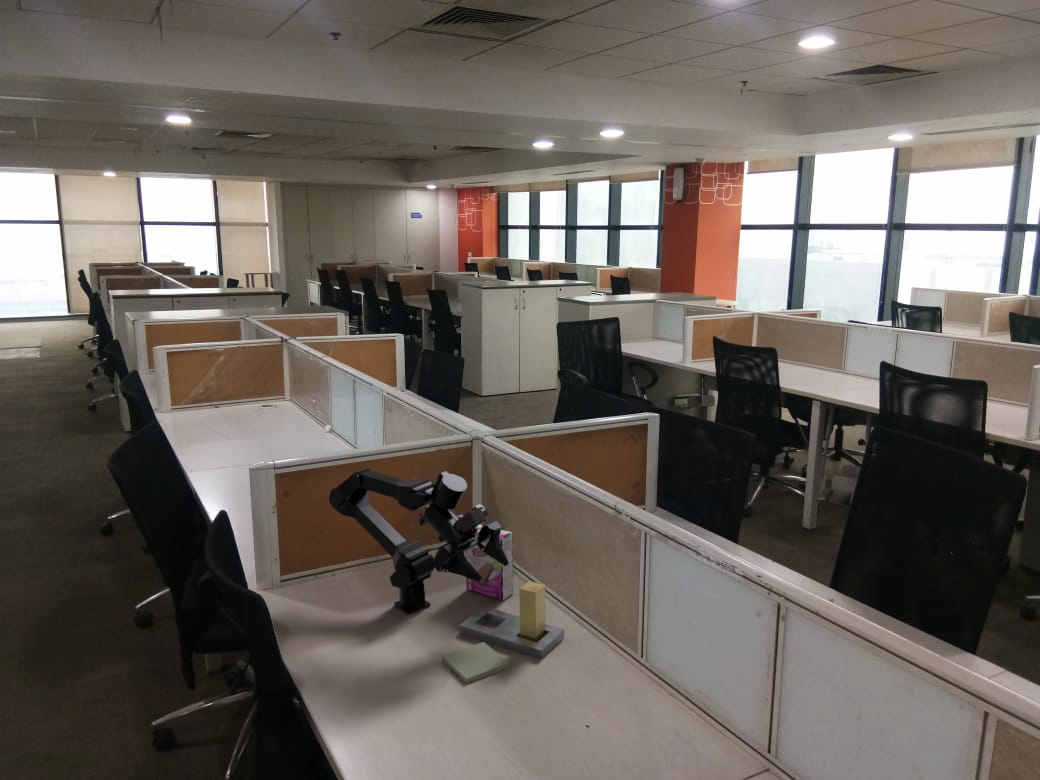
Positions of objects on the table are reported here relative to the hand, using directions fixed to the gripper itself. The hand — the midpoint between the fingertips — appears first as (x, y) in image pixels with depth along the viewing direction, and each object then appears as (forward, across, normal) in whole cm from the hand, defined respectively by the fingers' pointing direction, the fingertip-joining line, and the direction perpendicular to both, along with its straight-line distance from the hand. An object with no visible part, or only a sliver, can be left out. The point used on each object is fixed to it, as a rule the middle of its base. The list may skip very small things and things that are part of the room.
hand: (494, 572), depth 166 cm
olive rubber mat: (+11, -11, +12) cm, 19 cm away
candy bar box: (-4, +16, +21) cm, 27 cm away
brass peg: (+15, +3, +9) cm, 18 cm away
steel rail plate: (+10, +3, +12) cm, 16 cm away
